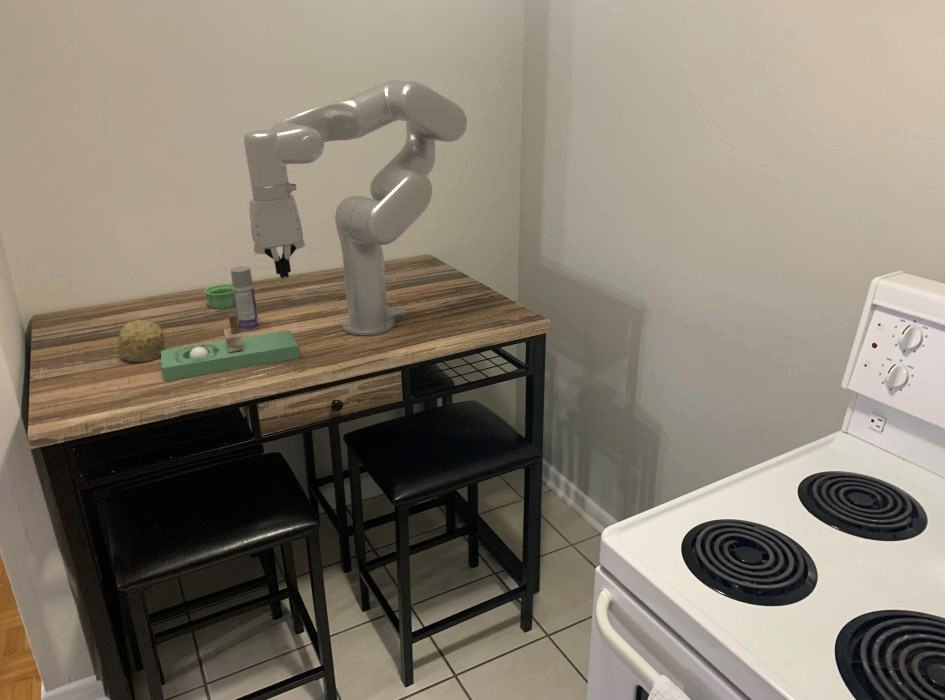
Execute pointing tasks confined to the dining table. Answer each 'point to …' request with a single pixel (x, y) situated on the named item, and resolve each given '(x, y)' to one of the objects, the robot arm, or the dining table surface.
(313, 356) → the dining table surface
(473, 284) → the dining table surface
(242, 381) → the dining table surface
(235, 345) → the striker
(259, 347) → the putting green
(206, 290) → the ramekin
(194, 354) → the golf ball
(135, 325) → the rock
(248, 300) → the container
